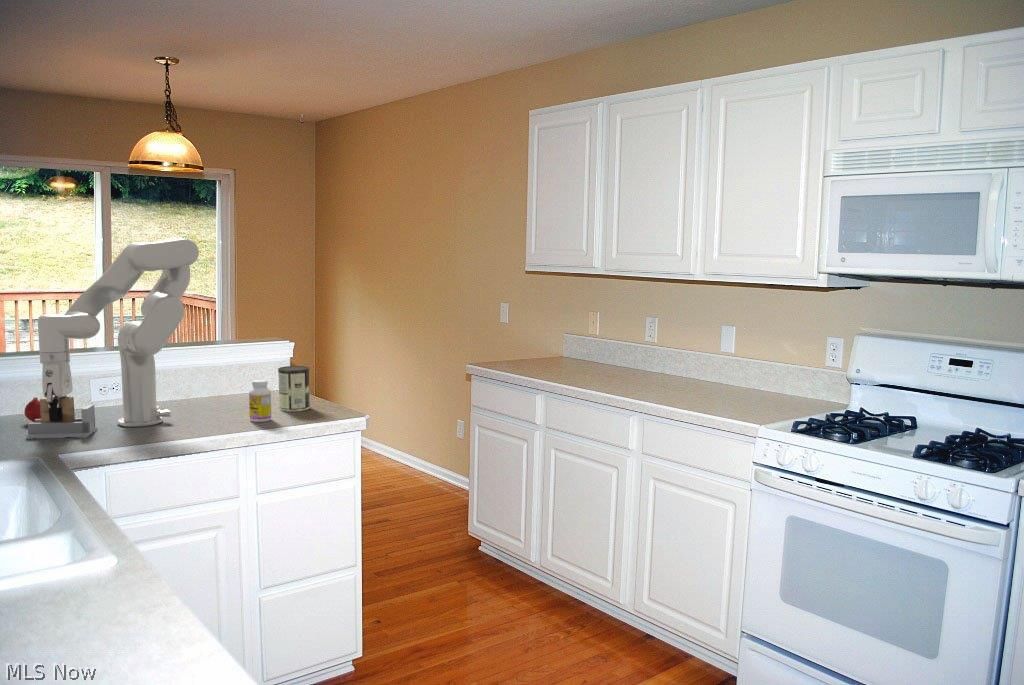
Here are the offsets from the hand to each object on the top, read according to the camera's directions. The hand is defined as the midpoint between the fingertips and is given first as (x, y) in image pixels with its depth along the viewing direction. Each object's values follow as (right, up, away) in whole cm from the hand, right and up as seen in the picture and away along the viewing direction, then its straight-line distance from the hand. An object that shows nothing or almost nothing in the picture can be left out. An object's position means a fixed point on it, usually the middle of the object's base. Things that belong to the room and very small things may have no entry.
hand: (58, 419), depth 233 cm
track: (+1, -5, +1) cm, 5 cm away
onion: (-15, -3, +14) cm, 21 cm away
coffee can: (+57, -1, +41) cm, 71 cm away
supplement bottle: (+52, -3, +23) cm, 57 cm away
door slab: (0, -2, 0) cm, 2 cm away
